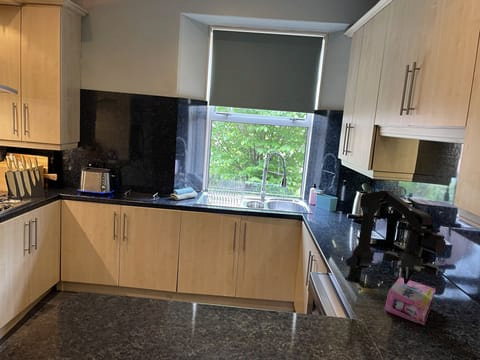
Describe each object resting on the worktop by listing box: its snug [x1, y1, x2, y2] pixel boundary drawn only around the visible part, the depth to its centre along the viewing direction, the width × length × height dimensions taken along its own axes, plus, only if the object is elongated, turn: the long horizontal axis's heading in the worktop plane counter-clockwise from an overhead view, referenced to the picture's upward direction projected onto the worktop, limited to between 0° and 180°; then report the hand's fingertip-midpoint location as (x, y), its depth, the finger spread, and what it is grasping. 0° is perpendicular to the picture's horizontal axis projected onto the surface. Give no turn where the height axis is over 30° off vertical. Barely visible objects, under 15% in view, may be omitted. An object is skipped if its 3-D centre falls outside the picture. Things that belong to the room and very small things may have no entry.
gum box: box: [383, 276, 436, 326], centre depth 138 cm, size 24×8×14 cm
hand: (405, 284), depth 139 cm, fingers closed
